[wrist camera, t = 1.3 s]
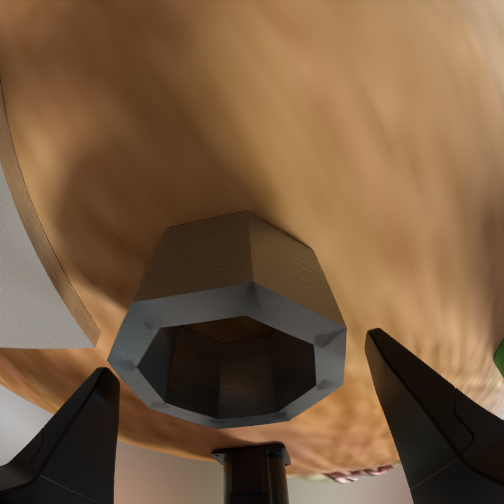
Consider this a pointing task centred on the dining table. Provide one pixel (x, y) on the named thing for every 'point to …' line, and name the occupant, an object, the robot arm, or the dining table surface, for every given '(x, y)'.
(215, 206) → the dining table surface
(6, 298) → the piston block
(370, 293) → the dining table surface
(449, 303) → the dining table surface
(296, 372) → the octagonal hollow lampshade
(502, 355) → the motor
